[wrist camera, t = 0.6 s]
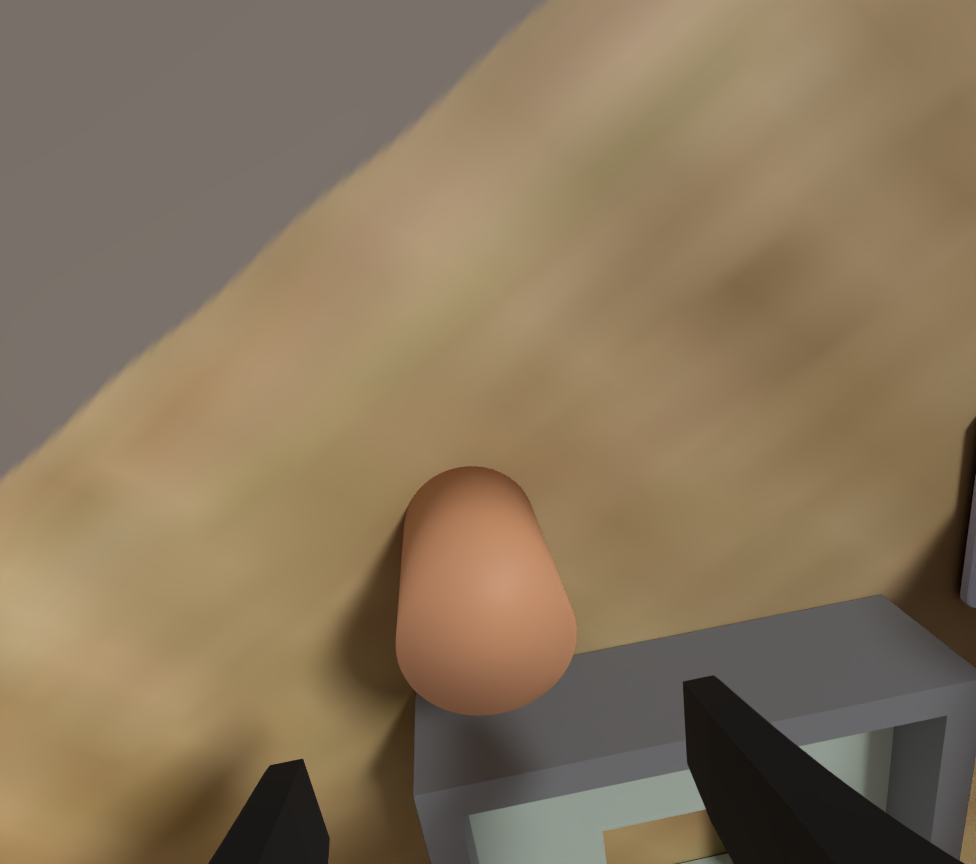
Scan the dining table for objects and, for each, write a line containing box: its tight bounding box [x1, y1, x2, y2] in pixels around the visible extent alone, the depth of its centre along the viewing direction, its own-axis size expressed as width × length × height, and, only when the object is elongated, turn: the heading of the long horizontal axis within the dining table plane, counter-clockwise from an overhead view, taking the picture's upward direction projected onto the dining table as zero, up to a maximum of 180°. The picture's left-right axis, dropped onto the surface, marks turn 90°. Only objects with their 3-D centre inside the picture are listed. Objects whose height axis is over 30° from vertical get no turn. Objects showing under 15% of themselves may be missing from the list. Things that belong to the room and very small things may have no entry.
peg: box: [396, 466, 577, 716], centre depth 17 cm, size 4×4×6 cm
